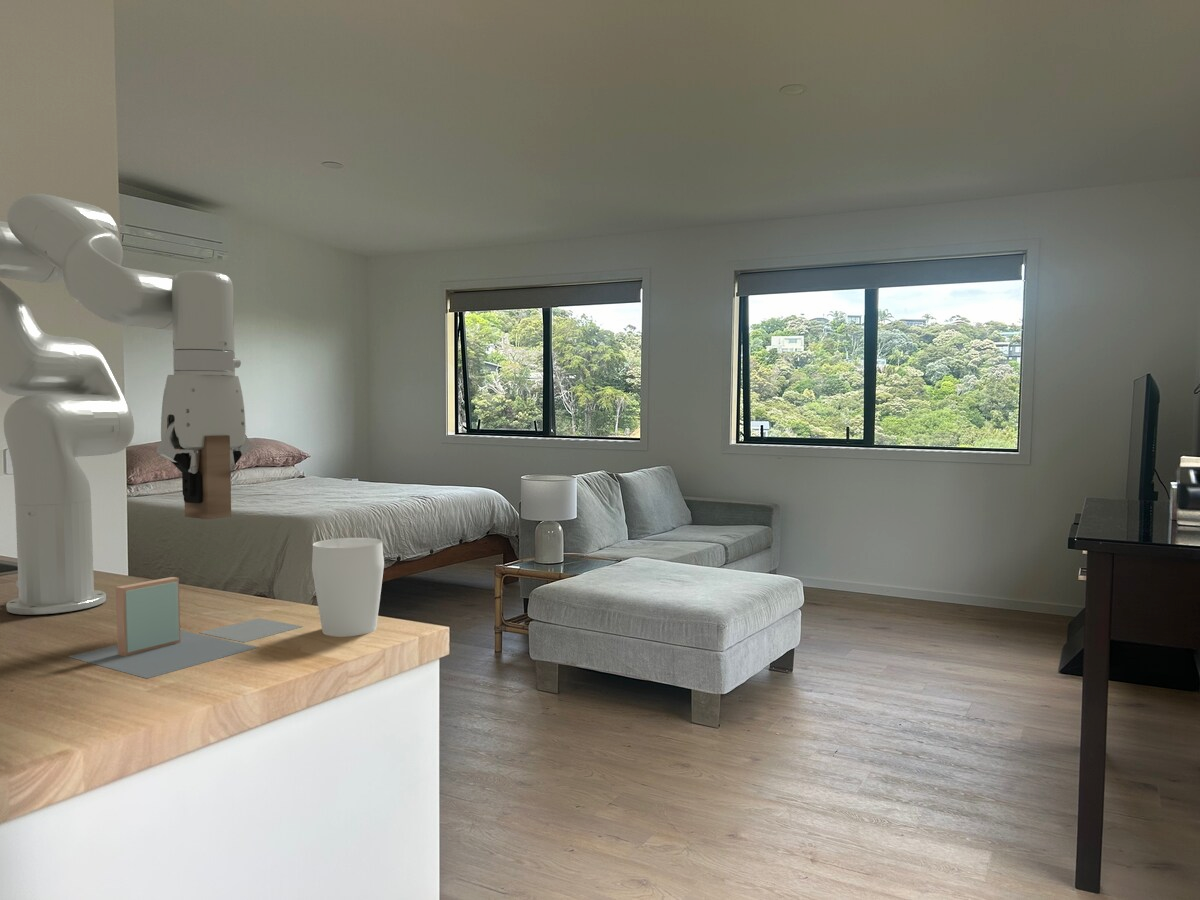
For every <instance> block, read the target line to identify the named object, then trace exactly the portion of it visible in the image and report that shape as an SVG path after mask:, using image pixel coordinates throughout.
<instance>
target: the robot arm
mask: <svg viewBox="0 0 1200 900" xmlns="http://www.w3.org/2000/svg"><path fill="white" fill-rule="evenodd" d="M123 259H124V249H123V245H122V244H121V241H120V231H119V228H118V225H117V222H116V221H115V220H114V218H113V216H112V215H111V214H110V213H109V212H108V211H106V210H105V209H103V208H101V207H99V206H97V205H94V204H91V203H86V202H82V201H79V200H73V199H69V198H65V197H60V196H57V195H52V194H47V193H29V194H25V195H23V196H20V197H19V198H16V199H15V200H14V201H12V202H11V204H10V205H9V208H8V210H7V214H6V221H3V220H0V279H8V280H15V281H23V282H28V283H29V282H30V283H36V284H37V283H38V284H55V283H58V282H62V281H64V285H65V288H66V289H67V292H68V294H69V295H70V296H71V298H72V299H73V300H74V301H76V302H77V303H78V304H79V305H81V306H82V307H83V308H84V309H87V310H88V311H89V312H91V313H92V314H94V315H95V316H97V317H98V318H100V319H102V320H104V321H107V322H109V323H111V324H116V325H120V326H128V327H129V326H130V327H139V328H153V329H156V330H157V329H158V330H167V331H172V349H173V351H172V353H173V354H172V357H173V363H172V364H173V374H167V376H166V380H165V385H164V390H163V394H162V395H163V397H162V402H161V403H162V405H161V414H160V415H161V416H160V419H161V420H160V442H159V444H158V446H157V448H156V453H157V455H159V456H161V457H163V458H165V459H166V460H169V461H170V462H171V463H172V465H174V466H175V468H176V469H177V471H178V472H179V473H181V477H182V478H181V479H182V482H181V483H182V490H181V491H182V495H183V501H184V503H185V502H186V503H202V501H203V487H202V473H198V468H199V459H200V450H201V449H203V448H204V443H205V436H226V435H230V474H231V472H232V471H235V468H236V464H237V463H238V462H239V461H240V459H241V458H242V457H243V456H244V455H245V454H247V453H248V452H249V451H251V450H252V449H253V448H252V447H253V445H252V444H251V442H250V440H249V438H248V436H247V433H246V430H247V428H246V413H245V403H244V397H243V391H242V386H241V381H240V378H239V376H238V375H236V369H238V368H240V367H241V364H242V362H241V359H240V358H238V357H237V358H236V357H235V355H236V354H235V313H234V311H235V310H234V307H235V306H234V285H233V281H232V280H231V278H230V277H229V276H228V275H226V274H224V273H221V272H216V271H211V270H210V271H209V270H197V269H196V270H195V269H194V270H182V271H179V272H177V273H175V274H174V275H172V274H165V273H162V272H156V271H150V270H143V269H136V268H131V267H125V266H122V263H123ZM105 357H106V356H104V355H103V353H102V351H101V350H100V349H99V348H98V347H97V346H95V345H94V344H92V342H89V341H88V340H85V339H84V338H79V337H73V336H63V335H52V334H50V333H47V332H44V330H43V329H41V328H40V326H39V325H38V323H37V321H36V319H35V317H34V314H33V312H32V309H30V307H29V306H28V304H27V303H26V302H25V301H24V299H22V297H20V295H18V294H17V293H16V292H15V291H14V290H12V289H11V288H10V287H9V286H7V285H6V284H5V283H4V282H3V281H1V280H0V390H1V391H2V392H3V393H5V394H8V395H10V396H11V395H12V396H17V397H19V398H18V399H16V400H15V401H14V402H12V403H11V404H10V405H9V407H8V408H7V409H6V412H5V413H4V417H3V432H4V437H5V441H6V444H7V448H8V451H9V456H10V459H11V460H10V461H11V466H12V473H13V474H12V475H13V482H14V483H13V484H14V501H15V502H14V503H15V505H14V506H15V526H16V528H15V531H16V552H17V553H16V556H17V558H16V559H17V576H18V577H17V580H16V581H15V586H16V587H18V597H15V598H13V599H10V600H9V601H7V602H6V606H5V607H6V612H8V613H10V614H15V615H24V616H25V615H29V616H31V615H32V616H33V615H36V616H37V615H38V616H39V615H49V614H50V615H51V614H61V613H69V612H74V611H81V610H86V609H89V608H94V607H96V606H99V605H101V604H104V603H105V602H106V600H107V594H106V592H105V591H103V590H96V589H95V585H94V583H95V582H94V581H95V580H94V550H93V549H94V548H93V524H92V523H93V522H92V521H93V520H92V515H93V514H92V497H91V496H92V494H91V485H90V483H89V479H88V476H87V475H86V474H85V472H84V470H83V469H82V467H81V466H80V465H79V463H78V462H77V459H76V458H78V457H92V456H93V457H95V456H97V457H98V456H105V455H112V454H117V453H120V452H122V451H124V450H125V449H126V448H128V446H129V445H131V443H132V440H133V438H134V433H135V421H134V417H133V414H132V411H131V408H130V406H129V405H130V404H128V401H127V399H126V397H125V395H124V393H123V391H122V389H121V387H120V385H119V383H118V381H117V379H116V377H115V375H114V374H113V371H112V369H111V367H110V365H109V363H108V361H107V359H106V358H105ZM178 450H179V451H178ZM231 475H232V474H231Z"/></svg>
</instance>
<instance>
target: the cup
mask: <svg viewBox="0 0 1200 900" xmlns="http://www.w3.org/2000/svg"><path fill="white" fill-rule="evenodd" d="M383 545H384V544H383V540H382V539H380V538H374V537H339V538H338V537H337V538H330V539H324V540H319V541H316V542H313V543H312V554H311V555H312V557H311V572H312V578H313V584H314V590H315V596H316V602H317V607H318V615H319V619H320V625H321V631H322V633H323V635H325V636H330V637H338V638H339V637H340V638H343V637H345V638H346V637H357V636H361V635H363V636H364V635H367V634H370V633H372V632H374V631H377V625H378V617H379V609H380V602H381V594H382V593H381V592H382V588H383V587H382V584H383V575H384V569H385V558H384V547H383Z"/></svg>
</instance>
